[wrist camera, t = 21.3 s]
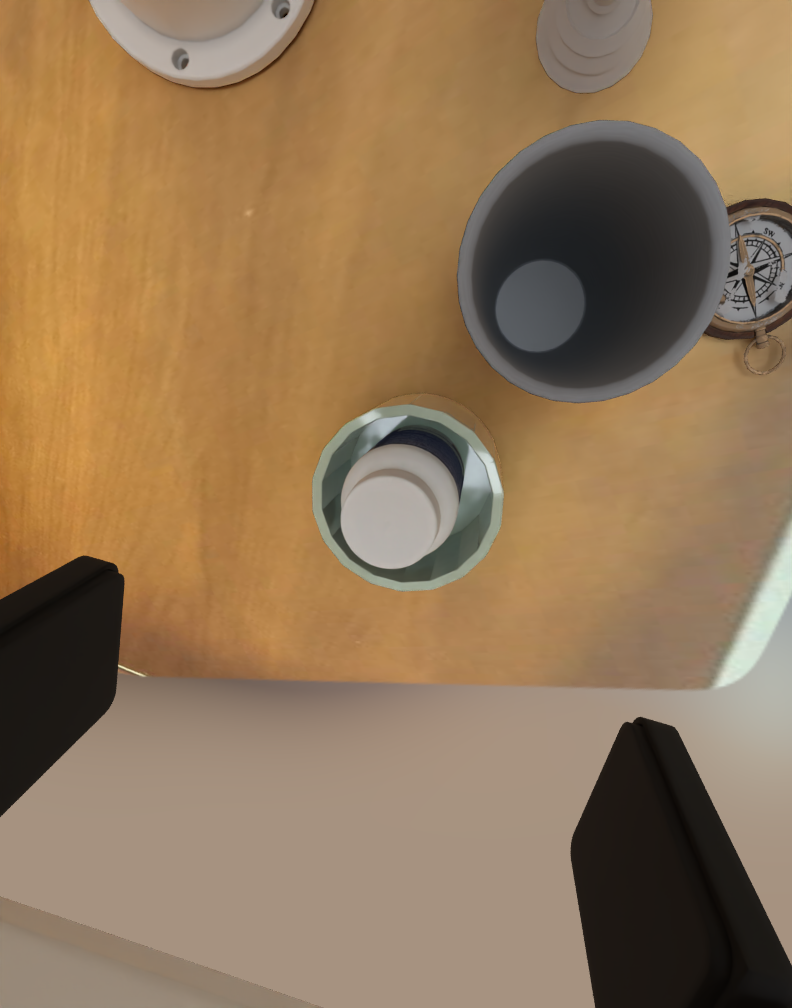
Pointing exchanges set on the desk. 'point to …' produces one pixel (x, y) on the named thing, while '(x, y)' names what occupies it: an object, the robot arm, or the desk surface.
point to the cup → (594, 261)
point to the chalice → (592, 41)
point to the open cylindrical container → (477, 497)
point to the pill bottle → (402, 497)
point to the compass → (757, 275)
